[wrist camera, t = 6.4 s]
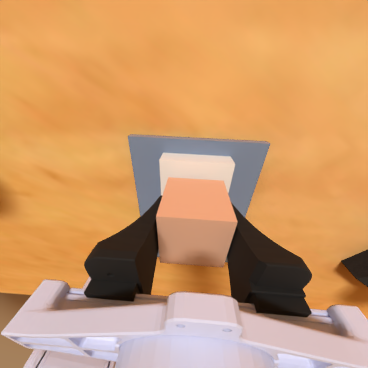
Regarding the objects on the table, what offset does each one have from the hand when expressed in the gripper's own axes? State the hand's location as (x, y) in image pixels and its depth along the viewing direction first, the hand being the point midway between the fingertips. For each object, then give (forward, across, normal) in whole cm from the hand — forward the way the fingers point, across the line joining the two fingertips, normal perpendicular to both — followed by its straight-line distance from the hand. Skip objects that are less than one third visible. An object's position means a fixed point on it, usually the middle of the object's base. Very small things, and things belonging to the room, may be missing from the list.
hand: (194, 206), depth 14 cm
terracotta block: (+1, 0, 0) cm, 1 cm away
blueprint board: (+5, 0, +5) cm, 7 cm away
